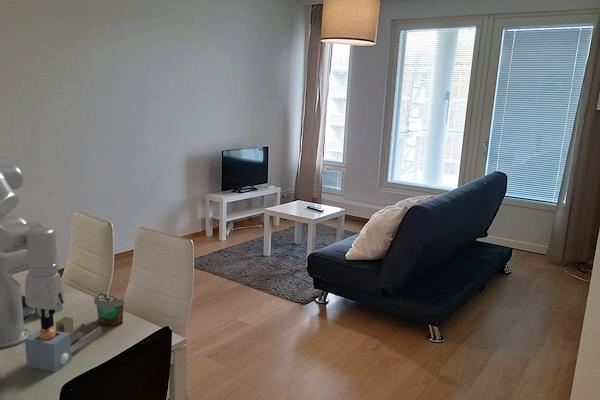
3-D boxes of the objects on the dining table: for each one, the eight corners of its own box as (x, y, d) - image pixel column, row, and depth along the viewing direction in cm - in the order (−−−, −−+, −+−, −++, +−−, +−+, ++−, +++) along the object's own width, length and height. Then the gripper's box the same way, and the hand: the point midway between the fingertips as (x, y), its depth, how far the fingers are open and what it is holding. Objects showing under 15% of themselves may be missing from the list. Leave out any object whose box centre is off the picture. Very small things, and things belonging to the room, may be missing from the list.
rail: (45, 355, 151) (45, 347, 150) (82, 331, 167) (81, 323, 167) (67, 360, 149) (67, 351, 149) (102, 334, 165) (102, 326, 165)
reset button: (37, 345, 145) (36, 331, 144) (47, 339, 148) (46, 325, 147) (49, 347, 144) (48, 334, 143) (58, 341, 147) (57, 328, 146)
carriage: (52, 349, 152) (50, 323, 150) (65, 340, 157) (64, 314, 155) (66, 352, 150) (64, 325, 149) (79, 343, 156) (77, 317, 154)
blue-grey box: (27, 366, 145) (24, 338, 143) (44, 354, 152) (42, 328, 150) (56, 372, 143) (54, 344, 141) (72, 360, 149) (71, 333, 148)
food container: (87, 322, 174) (86, 296, 171) (101, 316, 179) (100, 290, 177) (111, 331, 168) (110, 304, 166) (125, 324, 173) (124, 298, 171)
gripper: (11, 270, 139) (16, 329, 143) (56, 277, 136) (60, 337, 139) (31, 262, 146) (36, 318, 150) (74, 268, 143) (77, 325, 147)
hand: (47, 327), depth 145 cm, fingers closed
